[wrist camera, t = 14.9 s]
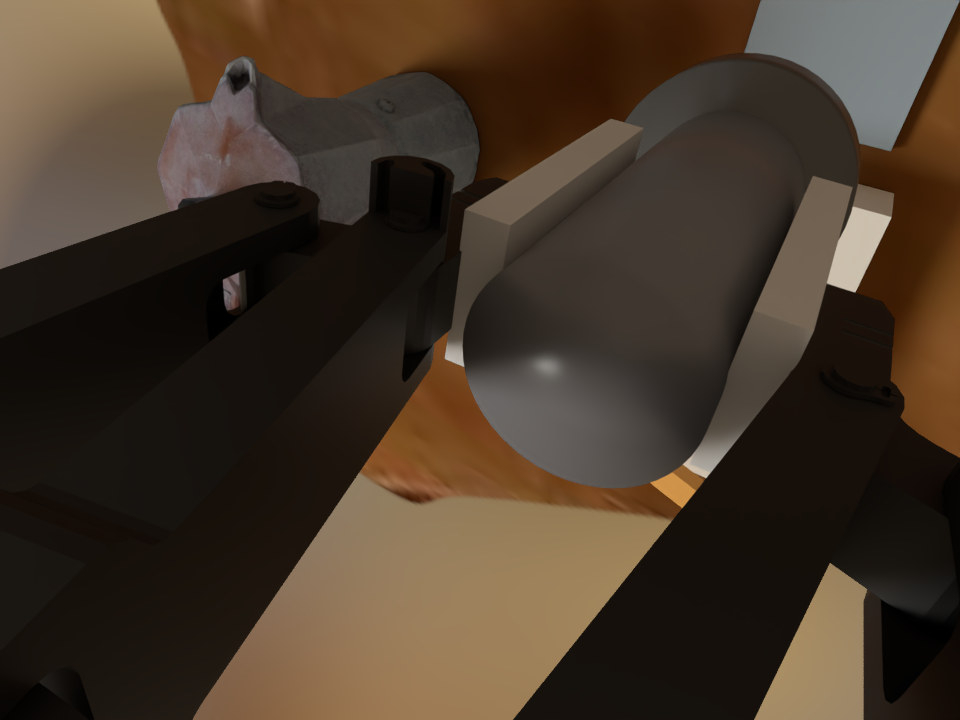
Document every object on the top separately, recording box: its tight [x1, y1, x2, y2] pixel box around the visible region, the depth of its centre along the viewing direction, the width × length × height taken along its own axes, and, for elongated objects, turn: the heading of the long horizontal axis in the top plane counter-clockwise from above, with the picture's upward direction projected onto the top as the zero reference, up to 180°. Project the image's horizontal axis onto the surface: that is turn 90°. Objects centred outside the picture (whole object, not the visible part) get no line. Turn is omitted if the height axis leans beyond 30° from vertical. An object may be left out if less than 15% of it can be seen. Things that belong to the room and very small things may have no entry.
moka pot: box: [157, 56, 480, 310], centre depth 40 cm, size 10×15×20 cm, turn 171°
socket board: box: [683, 184, 894, 478], centre depth 41 cm, size 18×14×6 cm
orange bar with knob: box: [650, 465, 704, 508], centre depth 42 cm, size 12×3×1 cm, turn 62°
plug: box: [462, 53, 861, 488], centre depth 15 cm, size 6×6×15 cm
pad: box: [744, 0, 960, 151], centre depth 34 cm, size 8×8×1 cm
